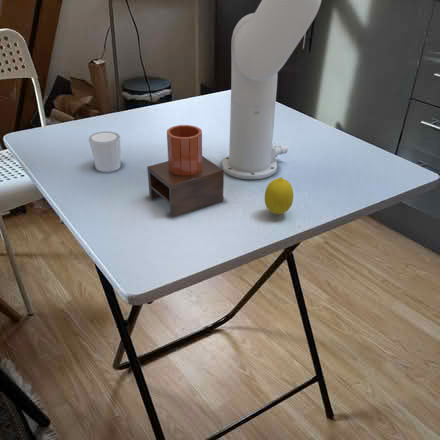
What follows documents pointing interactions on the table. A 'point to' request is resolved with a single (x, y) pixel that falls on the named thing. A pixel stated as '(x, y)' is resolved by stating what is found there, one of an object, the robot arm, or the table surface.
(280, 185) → the lemon
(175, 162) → the cup
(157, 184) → the shelf
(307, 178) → the table surface
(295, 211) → the table surface
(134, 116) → the table surface
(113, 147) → the white short cylinder
